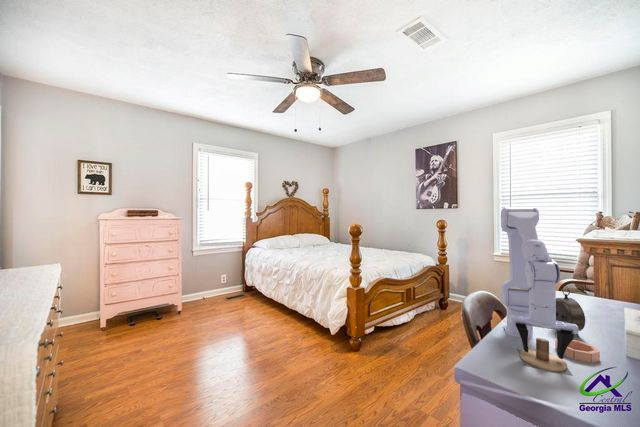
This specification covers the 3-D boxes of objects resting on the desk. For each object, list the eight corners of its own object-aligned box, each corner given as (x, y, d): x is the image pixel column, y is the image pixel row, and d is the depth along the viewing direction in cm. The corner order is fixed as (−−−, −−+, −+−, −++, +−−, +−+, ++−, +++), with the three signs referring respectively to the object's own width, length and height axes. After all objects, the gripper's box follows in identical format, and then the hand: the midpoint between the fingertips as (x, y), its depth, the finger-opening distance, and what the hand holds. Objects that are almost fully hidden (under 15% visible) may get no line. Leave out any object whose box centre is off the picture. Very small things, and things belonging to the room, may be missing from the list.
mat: (517, 351, 81) (517, 349, 81) (560, 359, 76) (560, 357, 76) (524, 367, 72) (524, 365, 72) (573, 378, 68) (573, 375, 68)
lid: (517, 349, 81) (517, 330, 81) (560, 357, 76) (559, 337, 77) (524, 365, 72) (523, 343, 72) (573, 375, 68) (573, 352, 68)
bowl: (552, 346, 85) (552, 336, 85) (590, 352, 80) (590, 342, 80) (562, 359, 77) (562, 348, 77) (604, 367, 73) (604, 355, 73)
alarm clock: (587, 339, 89) (586, 290, 89) (568, 338, 90) (567, 289, 90) (564, 326, 100) (563, 282, 100) (547, 325, 101) (547, 282, 101)
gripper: (512, 304, 74) (513, 354, 74) (582, 313, 68) (583, 367, 67) (508, 298, 81) (509, 343, 80) (572, 305, 74) (573, 355, 74)
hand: (542, 353), depth 74 cm, fingers open, 7 cm apart
